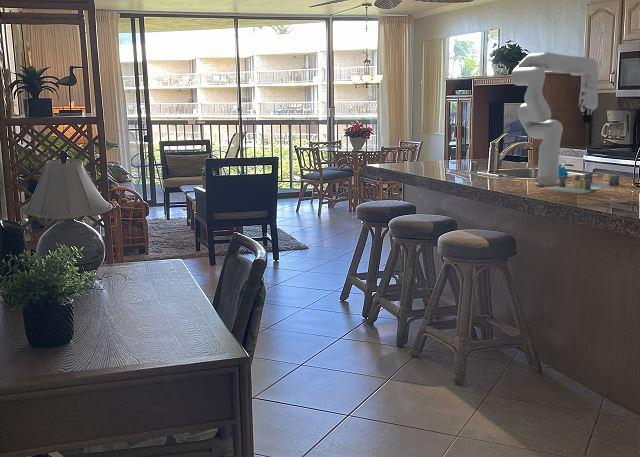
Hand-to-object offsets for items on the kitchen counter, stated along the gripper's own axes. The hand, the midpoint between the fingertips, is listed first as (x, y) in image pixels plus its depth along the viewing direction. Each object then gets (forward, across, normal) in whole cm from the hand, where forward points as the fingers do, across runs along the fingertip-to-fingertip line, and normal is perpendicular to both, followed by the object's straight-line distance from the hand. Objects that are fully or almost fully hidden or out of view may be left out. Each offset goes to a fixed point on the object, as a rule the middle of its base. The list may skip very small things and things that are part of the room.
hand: (586, 122), depth 344 cm
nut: (+28, -32, -18) cm, 46 cm away
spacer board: (+29, -27, -17) cm, 43 cm away
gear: (+29, +2, +15) cm, 33 cm away
